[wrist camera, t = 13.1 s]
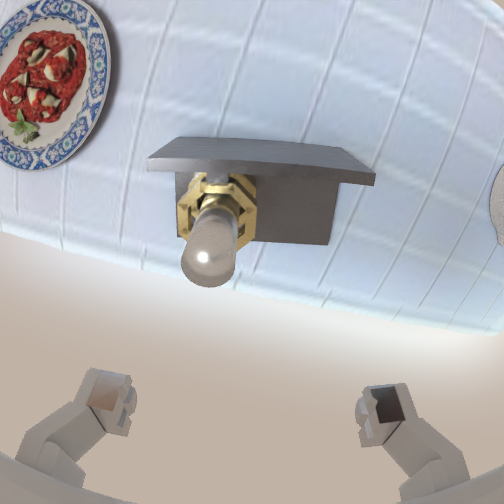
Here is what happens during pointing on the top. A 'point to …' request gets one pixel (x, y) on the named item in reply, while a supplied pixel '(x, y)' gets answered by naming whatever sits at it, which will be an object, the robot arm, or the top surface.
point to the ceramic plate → (50, 81)
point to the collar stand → (261, 184)
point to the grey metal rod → (212, 241)
